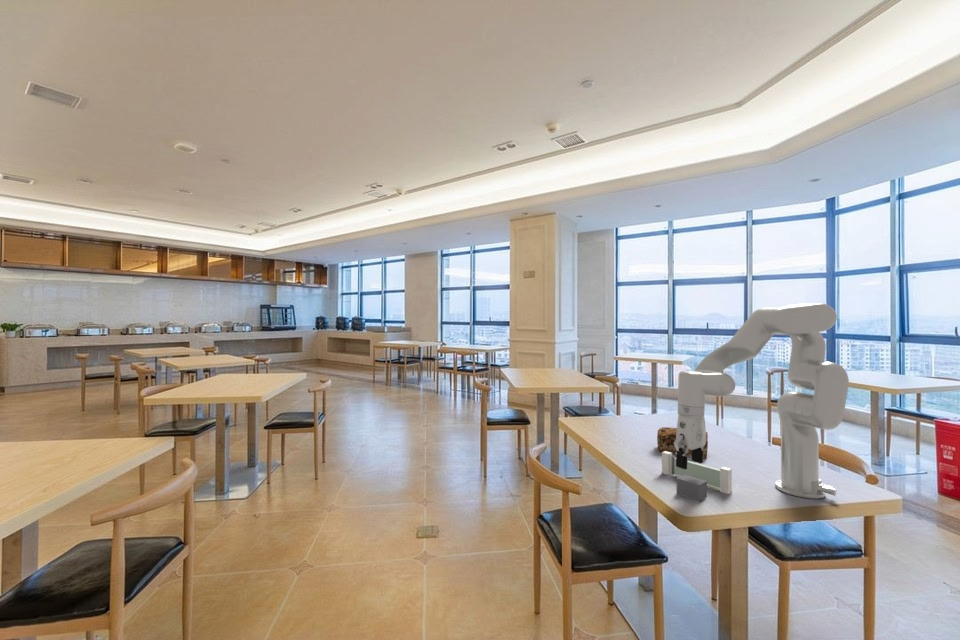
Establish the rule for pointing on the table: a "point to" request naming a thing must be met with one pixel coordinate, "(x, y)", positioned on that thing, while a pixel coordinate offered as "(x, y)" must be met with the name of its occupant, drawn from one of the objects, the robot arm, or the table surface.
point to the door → (697, 472)
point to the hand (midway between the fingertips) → (689, 465)
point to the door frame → (724, 484)
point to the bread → (668, 438)
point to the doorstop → (692, 487)
